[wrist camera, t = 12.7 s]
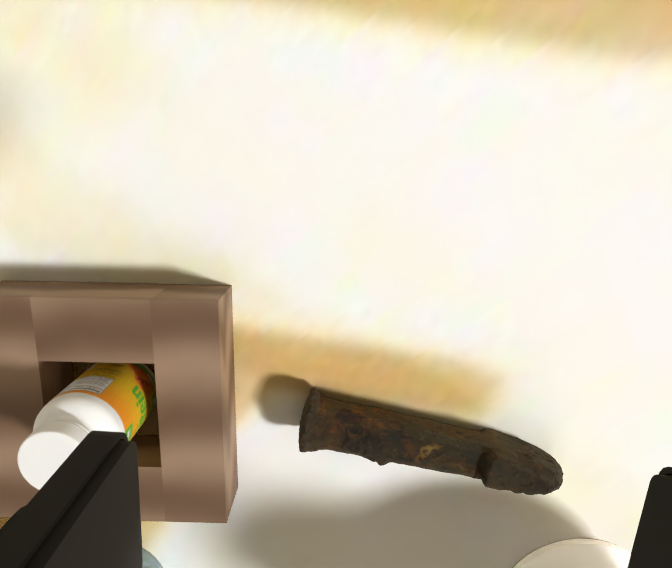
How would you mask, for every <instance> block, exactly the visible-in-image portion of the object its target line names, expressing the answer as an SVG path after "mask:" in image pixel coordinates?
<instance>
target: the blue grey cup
mask: <svg viewBox="0 0 672 568" xmlns="http://www.w3.org/2000/svg"><path fill="white" fill-rule="evenodd" d="M142 558H143V565H142V568H163V567H162V566H161V564H160V563H159V562H158V560H157V559H156V558H155V557H154V556H153V555H152V554H151V553H149V552H148V551H146V550H145V549H143V548H142Z"/></svg>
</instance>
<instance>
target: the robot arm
mask: <svg viewBox="0 0 672 568" xmlns="http://www.w3.org/2000/svg"><path fill="white" fill-rule="evenodd" d="M142 565H143V558H142V537H141V516H140V495H139V475H138V454H137V445H136V442H134V441H128V437H127V435H126V434H125V433H124V432H111V431H95V430H94V431H91V432H90V433H88V434H87V436H86V437H85V438H84V439H83V440H82V441H81V442H80V444H79V445H78V446H77V447H76V448H75V449H74V451H73V452H72V453H71V454H70V455H69V456H68V458H67V459H66V460H65V461H64V462H63V463H62V465H61V466H60V467H59V468H58V469H57V470H56V471H55V473H54V474H53V475H52V476H51V477H50V478H49V480H48V481H47V482H46V483H45V484H44V485H43V487H42V488H41V489H40V490H39V491H38V492H37V494H36V495H35V496H34V497H33V498H32V499H31V500H30V502H29V503H28V504H27V505H26V506H23V507H21V508H20V509H19V510H18V511H17V512H16V513H14V514H13V516H12V517H11V518H10V519H9V520H8V521H7V522H6V524H5V525H4V526H3V527H2V528H1V529H0V568H142ZM627 568H672V467H666V468H663V469H662V470H661V471H660V473H659V475H654V476H653V477H652V478H651V481H650V484H649V488H648V491H647V495H646V499H645V503H644V507H643V510H642V514H641V518H640V522H639V526H638V529H637V533H636V537H635V541H634V545H633V548H632V552H631V556H630V560H629V564H628V567H627Z"/></svg>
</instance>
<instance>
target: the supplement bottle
mask: <svg viewBox="0 0 672 568" xmlns="http://www.w3.org/2000/svg"><path fill="white" fill-rule="evenodd" d="M156 403H157V396H156V382H155V376H154V374H153V372H152V371H151V370H150V368H149V367H148V366H147V365H145V364H144V363H103V362H96V363H95V364H93V365H92V366H91V367H89V368H88V369H87V370H86V371H85V372H84V373H82V374H81V375H80V376H79V377H78V378H77V379H75V380H74V381H73V382H72V383H71V384H70V385H68V386H67V387H66V388H65V389H64V390H62V391H61V392H60V393H59V394H58V395H56V396H55V397H54V398H53V399H52V400H50V401H49V402H48V403H47V404H46V405H45V406H44V407H43V408H42V410H41V411H40V412H39V414H38V415H37V417H36V420H35V423H34V427H33V432H32V433H31V434H30V435H29V436H28V437H27V438H26V439H25V440H24V441H23V443H22V444H21V446H20V448H19V451H18V456H17V462H18V467H19V469H20V472H21V474H22V475H23V477H24V478H25V479H26V480H27V482H28V483H30V484H31V485H32V486H33V487H35V488H37V489H38V490H40V489H41V488H42V487H43V485H44V484H45V483H46V482H47V481H48V480H49V478H50V477H51V476H52V475H53V474H54V473H55V471H56V470H57V469H58V468H59V467H60V466H61V465H62V463H63V462H64V461H65V460H66V459H67V458H68V456H69V455H70V454H71V453H72V452H73V451H74V449H75V448H76V447H77V446H78V445H79V444H80V442H81V441H82V440H83V439H84V438H85V437H86V436H87V434H88V433H90V432H91V431H94V430H95V431H111V432H124V433H125V434H126V435H127V437H128V441H130V440H131V439H132V437H133V436H134V435H135V433H136V432H137V431H138V430H139V428H140V427H141V425H142V424H143V423H144V421H145V420H146V419H147V418H148V416H149V415H150V414H151V412H152V411H153V409H154V407H155V406H156Z"/></svg>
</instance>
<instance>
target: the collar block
mask: <svg viewBox="0 0 672 568" xmlns="http://www.w3.org/2000/svg"><path fill="white" fill-rule="evenodd" d="M72 362H103V363H146V364H154V368H155V382H156V396H157V410H158V424H159V436H150V435H134V436H133V437H132V439H131V440H130V441H134V442H136V445H137V454H138V475H139V495H140V516H141V521H168V522H205V523H227V520H228V516H229V513H230V510H231V507H232V504H233V501H234V498H235V495H236V491H237V488H238V478H237V446H236V413H235V381H234V349H233V317H232V285H186V284H140V283H94V282H48V281H0V517H12V516H13V514H14V513H16V512H17V511H18V510H19V509H20V508H21V507H23V506H26V505H27V504H28V503H29V502H30V500H31V499H32V498H33V497H34V496H35V495H36V494H37V492H38V491H39V490H38V489H37V488H35V487H33V486H32V485H31V484H30V483H28V482H27V480H26V479H25V478H24V477H23V475H22V474H21V472H20V469H19V467H18V462H17V456H18V451H19V448H20V446H21V444H22V443H23V441H24V440H25V439H26V438H27V437H28V436H29V435H30V434H31V433H32V432H33V427H34V423H35V420H36V417H37V415H38V414H39V412H40V411H41V410H42V408H43V407H44V406H45V405H46V404H47V403H48V402H49V401H50V400H52V399H53V398H54V397H55V396H56V395H58V394H59V393H60V392H61V391H62V390H64V389H65V388H66V387H67V386H68V385H70V384H71V383H72V382H73V381H74V374H73V365H72Z"/></svg>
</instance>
